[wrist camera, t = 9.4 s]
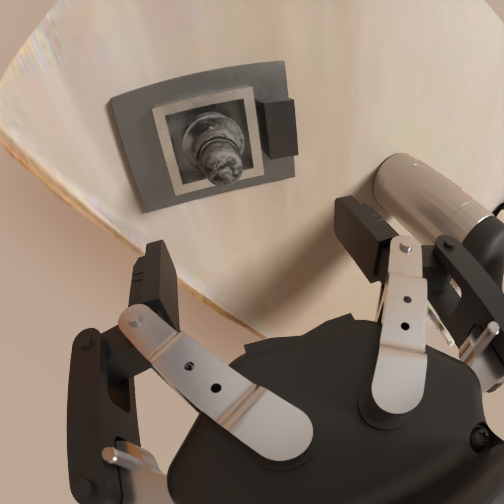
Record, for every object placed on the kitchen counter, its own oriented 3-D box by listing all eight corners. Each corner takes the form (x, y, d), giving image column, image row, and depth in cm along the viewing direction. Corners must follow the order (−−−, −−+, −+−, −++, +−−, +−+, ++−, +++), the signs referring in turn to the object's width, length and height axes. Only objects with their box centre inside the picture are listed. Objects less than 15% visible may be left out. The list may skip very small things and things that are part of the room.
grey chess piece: (226, 167, 30) (251, 223, 21) (174, 154, 28) (173, 206, 19) (245, 118, 28) (283, 151, 18) (192, 102, 25) (199, 125, 16)
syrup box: (435, 285, 60) (467, 326, 49) (437, 294, 64) (466, 333, 53) (418, 299, 62) (449, 342, 51) (422, 307, 65) (449, 348, 54)
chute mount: (280, 60, 25) (294, 61, 22) (291, 173, 34) (304, 187, 31) (112, 97, 23) (102, 102, 20) (147, 207, 32) (144, 226, 29)
